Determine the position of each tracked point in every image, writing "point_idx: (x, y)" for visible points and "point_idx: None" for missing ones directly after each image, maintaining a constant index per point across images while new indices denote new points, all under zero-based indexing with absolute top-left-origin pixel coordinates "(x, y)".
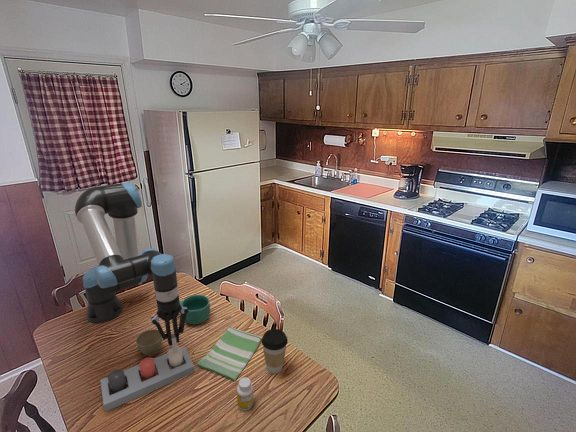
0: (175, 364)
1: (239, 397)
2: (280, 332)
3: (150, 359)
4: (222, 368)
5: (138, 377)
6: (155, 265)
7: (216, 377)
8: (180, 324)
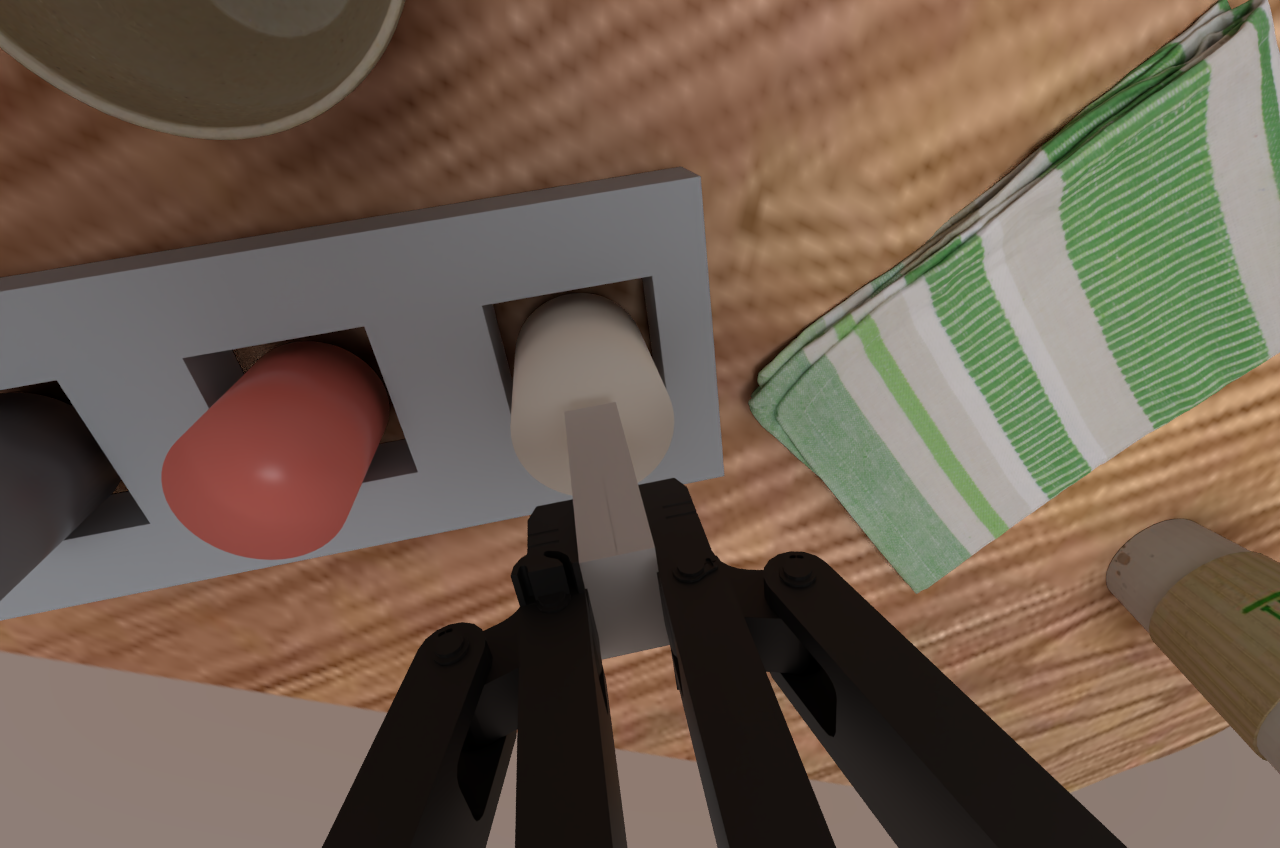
0: None
1: None
2: None
3: (296, 456)
4: (898, 493)
5: None
6: None
7: (829, 528)
8: (866, 762)
